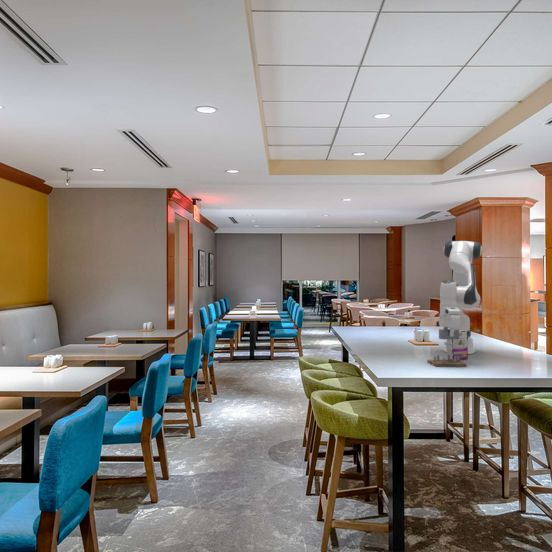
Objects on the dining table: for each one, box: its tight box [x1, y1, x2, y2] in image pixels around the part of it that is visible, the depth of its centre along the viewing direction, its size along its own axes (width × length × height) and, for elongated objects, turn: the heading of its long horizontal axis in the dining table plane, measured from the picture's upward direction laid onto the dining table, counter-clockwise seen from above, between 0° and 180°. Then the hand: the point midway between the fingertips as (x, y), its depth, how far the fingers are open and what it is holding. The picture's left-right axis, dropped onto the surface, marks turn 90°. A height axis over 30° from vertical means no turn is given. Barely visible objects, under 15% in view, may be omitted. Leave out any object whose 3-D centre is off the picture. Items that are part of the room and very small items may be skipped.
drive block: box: [438, 328, 459, 341], centre depth 253 cm, size 5×9×5 cm, turn 94°
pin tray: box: [426, 354, 467, 368], centre depth 253 cm, size 14×16×4 cm
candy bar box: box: [446, 330, 469, 361], centre depth 271 cm, size 11×5×16 cm, turn 112°
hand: (448, 335), depth 253 cm, fingers closed on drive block, 5 cm apart
